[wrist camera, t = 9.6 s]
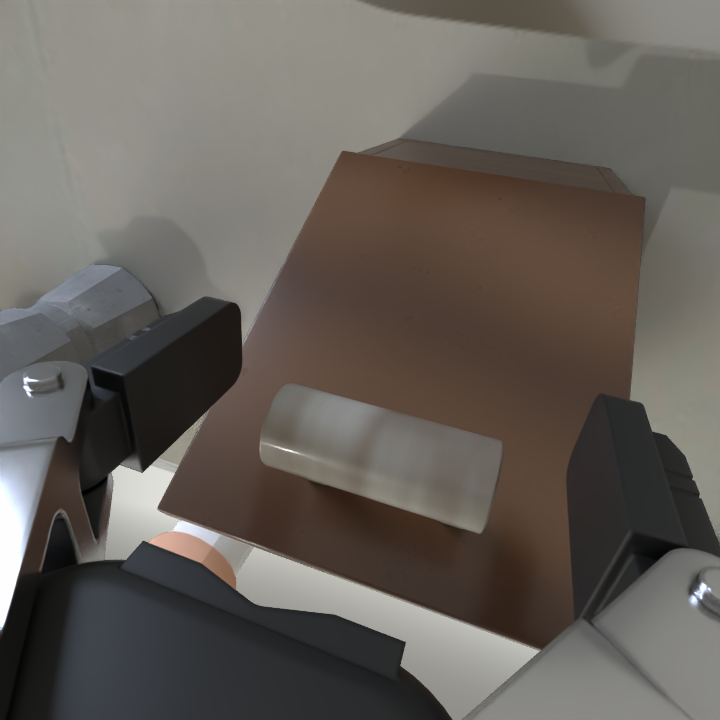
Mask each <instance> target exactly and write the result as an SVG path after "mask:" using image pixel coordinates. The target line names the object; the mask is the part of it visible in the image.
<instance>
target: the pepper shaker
mask: <svg viewBox="0 0 720 720" xmlns="http://www.w3.org/2000/svg"><path fill="white" fill-rule="evenodd" d="M148 543H151V544H153V545H156V546H158V547H161V548H163V549H166V550H169V551H171V552H174V553H176V554H179V555H182V556H184V557H187V558H189V559H192V560H194V561H197V562H200V563H202V564H203V565H204V566H206V567H207V568H208V569H209V570H211V571H212V572H213V573H215V574H216V575H217V576H218V577H220V578H221V579H222V580H224V581H225V582H226V583H227V584H229V585H230V586H231V587H233V588H234V589H235V590H236V577H235V576H236V574H237V572H238V571H239V569H240V568H241V566H242V565H243V563H244V562H245V560H246V558H247V557H248V555H249V554H250V552H251V551H252V549H253V547H254V546H251V545H248V544H245V543H243V542H240V541H237V540H234V539H232V538H229V537H226V536H223V535H221V534H218V533H215V532H213V531H210V530H207V529H204V528H202V527H199V526H196V525H193V524H191V523H188V522H185V521H182V520H180V522H179V523H178V524H177V525H176V527H175V528H174V529H173V530H172V531H171V532H165V533H162V534H160V535H158V536H156V537H155V538H153V539H151V540H150V541H149V542H148Z"/></svg>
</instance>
